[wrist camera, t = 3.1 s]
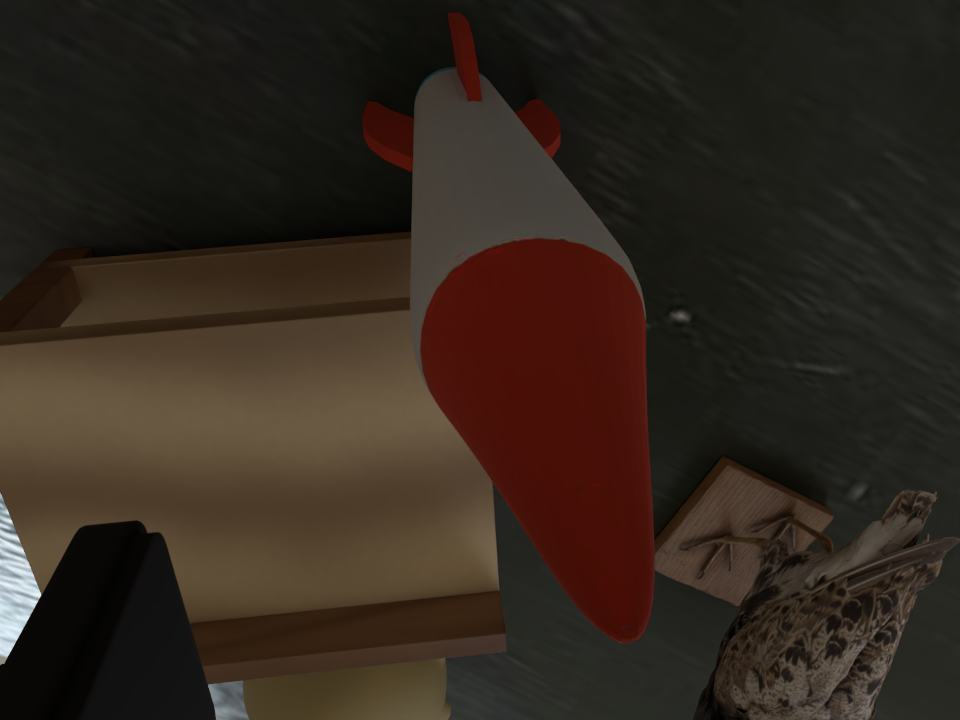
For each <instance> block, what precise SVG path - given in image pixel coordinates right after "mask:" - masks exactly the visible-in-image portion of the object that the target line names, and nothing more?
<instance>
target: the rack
mask: <svg viewBox="0 0 960 720" xmlns="http://www.w3.org/2000/svg"><path fill="white" fill-rule="evenodd" d="M410 276H411V232H399V233H387V234H375V235H363V236H351V237H339V238H327V239H315V240H303V241H291V242H279V243H267V244H255V245H243V246H231V247H219V248H207V249H195V250H183V251H171V252H159V253H146V254H134V255H122V256H110V257H98V258H94V256H93V253H92V249H91V248H78V249H66V250H56V251H54V252H53V253H52V254H51V255H50V256H49V257H48V258H46V259H45V260H44V261H43V262H42V263H41V264H40V265H38V266H37V267H36V268H35V269H34V270H33V271H32V272H31V273H30V274H29V275H28V276H27V277H26V278H24V279H23V280H22V281H21V282H20V283H19V284H18V285H17V286H16V287H15V288H14V289H12V290H11V291H10V292H9V293H8V294H7V295H6V296H5V297H4V298H3V299H1V300H0V492H1V494H2V497H3V499H4V502H5V504H6V507H7V509H8V512H9V514H10V517H11V519H12V522H13V524H14V527H15V529H16V532H17V534H18V537H19V539H20V542H21V544H22V547H23V549H24V552H25V554H26V557H27V559H28V562H29V564H30V567H31V569H32V572H33V574H34V577H35V579H36V582H37V584H38V587H39V589H40V592H41V595H42V593H43V592H44V590H45V588H46V586H47V584H48V582H49V581H50V579H51V577H52V575H53V573H54V571H55V570H56V568H57V566H58V564H59V562H60V560H61V558H62V557H63V555H64V553H65V551H66V549H67V547H68V546H69V544H70V542H71V540H72V538H73V536H74V535H75V533H76V532H77V531H78V529H79V528H81V527H83V526H85V525H94V524H104V523H114V522H124V521H134V520H137V521H140V522H142V523H143V525H144V526H145V527H146V530H147V532H148V533H153V532H159V533H161V534H162V535H163V537H164V539H165V542H166V544H167V548H168V551H169V555H170V558H171V561H172V565H173V568H174V572H175V575H176V579H177V582H178V585H179V589H180V592H181V596H182V599H183V602H184V606H185V609H186V613H187V616H188V619H189V623H190V626H191V630H192V633H193V636H194V640H195V643H196V647H197V650H198V654H199V657H200V660H201V664H202V667H203V671H204V674H205V677H206V681H207V684H214V683H224V682H233V681H242V680H251V679H260V678H269V677H278V676H287V675H297V674H306V673H315V672H324V671H333V670H342V669H351V668H361V667H370V666H379V665H388V664H397V663H406V662H415V661H425V660H434V659H443V658H452V657H461V656H470V655H479V654H489V653H498V652H506V651H507V644H506V631H505V624H504V618H503V611H502V605H501V598H500V592H499V578H498V562H497V545H496V529H495V513H494V497H493V482H492V480H491V479H490V477H489V476H488V474H487V473H486V471H485V470H484V469H483V467H482V466H481V464H480V463H479V461H478V460H477V458H476V457H475V456H474V454H473V453H472V451H471V450H470V449H469V447H468V446H467V444H466V443H465V442H464V440H463V439H462V438H461V436H460V435H459V433H458V432H457V431H456V429H455V428H454V427H453V425H452V424H451V423H450V421H449V420H448V419H447V417H446V416H445V415H444V413H443V412H442V411H441V409H440V408H439V407H438V405H437V404H436V402H435V401H434V399H433V397H432V396H431V394H430V392H429V391H428V389H427V387H426V386H425V384H424V382H423V379H422V376H421V373H420V370H419V368H418V365H417V362H416V359H415V355H414V348H413V341H412V334H411V324H410Z"/></svg>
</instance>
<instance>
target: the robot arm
mask: <svg viewBox="0 0 960 720" xmlns="http://www.w3.org/2000/svg"><path fill="white" fill-rule="evenodd" d="M0 720H216V717H215V709H214V705H213V701H212V698H211V694H210V691H209V688H208V684H207V681H206V677H205V674H204V671H203V667H202V664H201V660H200V657H199V654H198V650H197V647H196V643H195V640H194V636H193V633H192V630H191V626H190V623H189V619H188V616H187V613H186V609H185V606H184V602H183V599H182V596H181V592H180V589H179V585H178V582H177V579H176V575H175V572H174V568H173V565H172V561H171V558H170V555H169V551H168V548H167V544H166V542H165V539H164V537H163V535H162V534H161V533H159V532H153V533H148V532H147V530H146V527H145V526H144V525H143V523H142V522H140V521H137V520H134V521H124V522H114V523H104V524H94V525H85V526H83V527H81V528H79V529H78V531H77V532H76V533H75V535H74V536H73V538H72V540H71V542H70V544H69V546H68V547H67V549H66V551H65V553H64V555H63V557H62V558H61V560H60V562H59V564H58V566H57V568H56V570H55V571H54V573H53V575H52V577H51V579H50V581H49V582H48V584H47V586H46V588H45V590H44V592H43V593H42V595H41V597H40V599H39V601H38V603H37V605H36V606H35V608H34V610H33V612H32V614H31V616H30V617H29V619H28V621H27V623H26V625H25V627H24V628H23V630H22V632H21V634H20V636H19V638H18V640H17V641H16V643H15V645H14V647H13V649H12V651H11V652H10V654H9V656H8V658H7V660H6V662H5V664H1V665H0Z"/></svg>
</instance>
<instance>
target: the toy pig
mask: <svg viewBox="0 0 960 720" xmlns="http://www.w3.org/2000/svg"><path fill="white" fill-rule="evenodd" d="M446 687H447V672H446V662H445V658H443V659H434V660H425V661H415V662H406V663H397V664H388V665H379V666H370V667H361V668H351V669H342V670H333V671H324V672H315V673H306V674H297V675H287V676H278V677H269V678H260V679H251V680H243V697H244V703H245V707H246V711H247V714H248V717H249V719H250V720H448V719H449V717H450V714H451V705H450V702H449V701H448V699H447V698H446V697H445V696H446Z"/></svg>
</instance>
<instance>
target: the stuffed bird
mask: <svg viewBox="0 0 960 720" xmlns="http://www.w3.org/2000/svg"><path fill="white" fill-rule="evenodd" d="M936 495H937V492H935V493H934V494H931V493H928V492H924V491H921V490H918V492H915V491H909V490H904V491H902V492H901V493H898V494H897V497H895V498H894V500H893V502H892V504H891V505H890V508H888V509H887V511H886V513H885V514H884V516H883V518H882V520H880V521H876V522H874V521H873V522H872V523H871V524H869V526H868V527H867V528H866V529H865V530H864V531H862V532H860V533H859V534H858V535H856V537H855V538H854V539H853V540H852V542H851V543H848V544H847V545H845V546H842V547H841V548H839V549H838V550H836V551H835V552H833V543H832V540H831V539H830V538H829V537H828V536H826V535H824V534H822V533H821V532H822V531H823V530H824V529H825V528H826V526H827V525H828V524H829V523H830V522H831V521H832V520H833V518H834V516H833V514H832V513H831V511H830V510H829V509H828V508H827V507H826V506H823V505H821V504H819V503H817V502H815V501H813V500H811V499H809V498H807V497H805V496H803V495H801V494H799V493H797V492H795V491H793V490H791V489H789V488H787V487H785V486H782V485H781V484H779V483H777V482H775V481H773V480H771V479H768V478H766V477H764V476H762V475H760V474H758V473H757V472H755V471H752V470H750V469H748V468H746V467H744V466H742V465H740V464H738V463H736V462H735V461H732V460H730V459H728V458H726V457H724V456H723V457H721V458H720V460H719V461H718V462H717V464H716V465H715V466H714V467H713V468H712V469H711V471H710V472H709V473H708V474H707V476H706V477H705V478H704V480H703V481H702V482H701V483H700V484H699V486H698V487H697V488H696V489H695V490H694V492H693V493H692V494H691V495H690V497H689V498H688V499H687V501H686V502H685V503H684V504H683V506H682V507H681V508H680V509H679V511H678V512H677V513H676V515H675V516H674V517H673V518H672V519H671V521H670V522H669V523H668V524H667V526H666V527H665V528H664V529H663V530H662V532H661V533H660V534H659V535H658V537H657V538H656V539H655V540H654V559H655V569H654V570H655V571H657V572H659V573H661V574H663V575H665V576H667V577H669V578H672V579H674V580H676V581H679V582H681V583H683V584H686V585H689V586H693V587H694V588H696V589H699V590H701V591H703V592H705V593H709V594H710V595H712V596H714V597H717V598H721V599H723V600H726V601H729V602H730V603H731V604H733V605H735V606H739V608H738V611H737V615H736V618H735V620H734V621H733V623H732V624H731V626H730V627H729V629H728V631H727V632H726V634H725V635H724V637H723V639H722V641H721V644H720V649H719V653H718V658H717V663H716V668H715V669H714V671H713V672H712V674H711V676H710V679H709V683H708V685H707V687H706V688H705V689H704V690H703V692H702V694H701V697H700V699H699V702H698V706H697V709H696V712H695V715H694V718H693V720H871V719H873V717H874V714H875V712H876V710H877V708H876V703H874V702H875V699H876V697H877V696H878V694H879V692H880V690H881V686H882V684H883V681H884V679H885V677H886V675H887V673H888V671H889V669H890V666H891V662H892V660H893V657H894V655H895V652H896V650H897V647H898V643H899V640H900V637H901V634H902V632H903V630H904V628H905V625H906V623H907V620H908V618H909V615H910V612H911V610H912V608H913V606H914V602H915V600H916V597H917V594H918V591H919V590H921V589H923V588H924V587H926V586H927V585H928V584H930V583H931V582H933V581H934V579H935V578H936V577H937V576H938V574H939V570H940V568H941V565H942V560H941V559H942V558H943V557H944V556H945V554H946V552H947V551H948V550H949V549H951V548H953V547H954V546H955V545H957V544H958V543H959V541H960V539H959V538H956V537H947V538H943V539H941V540H937V539H938V537H939V535H938V536H937V538H936V539H935V540H932V541H929V533H928V532H927V535H926V539H925V540H924V541H923V543H922V544H918V545H916V542H917V540H918V538H919V535H920V533H921V530H922V528H923V525H924V523H925V520H926V518H927V517H928V515H929V513H930V512H931V510H930V508H931V505H932V503H933V502H935V501H936V498H938V497H936ZM815 538H816V539H817V540H819V541H820V544H821V546H822V547H823V548H824V550H825V551H823V552H819V553H817V552H816V553H817V554H816V553H815V552H814V551H813V550H811V551H808V552H807V551H806V552H805V550H806V549H807V548H808V546H809V545H810V544H811V543H812V542H813V541H814V540H815Z"/></svg>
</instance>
